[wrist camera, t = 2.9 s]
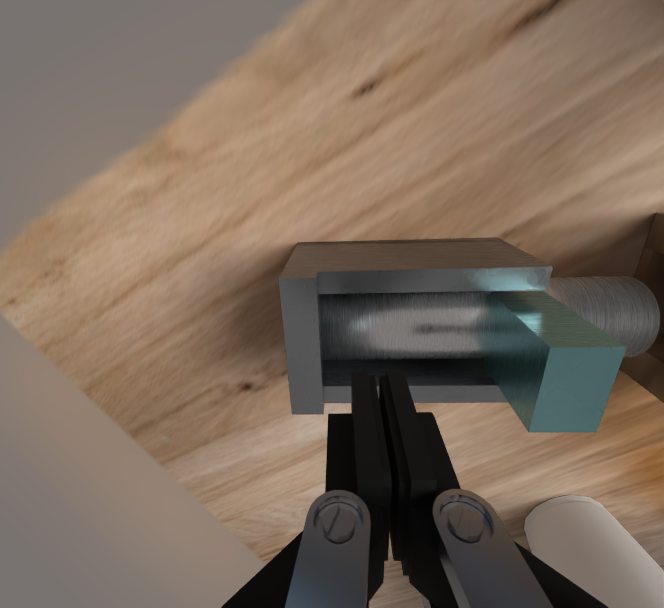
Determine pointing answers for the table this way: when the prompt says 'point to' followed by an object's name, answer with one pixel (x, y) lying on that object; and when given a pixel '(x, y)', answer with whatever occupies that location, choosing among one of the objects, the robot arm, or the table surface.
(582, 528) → the foam cup
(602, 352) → the tube
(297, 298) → the sleeve
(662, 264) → the socket block
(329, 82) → the table surface
